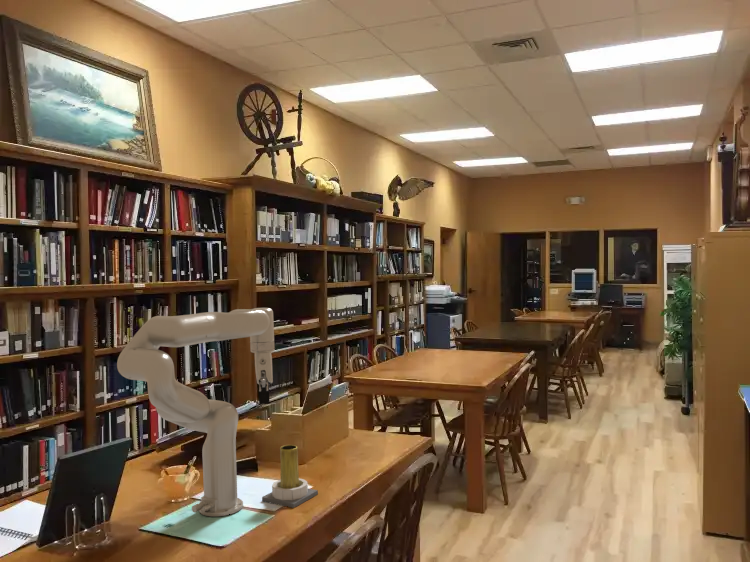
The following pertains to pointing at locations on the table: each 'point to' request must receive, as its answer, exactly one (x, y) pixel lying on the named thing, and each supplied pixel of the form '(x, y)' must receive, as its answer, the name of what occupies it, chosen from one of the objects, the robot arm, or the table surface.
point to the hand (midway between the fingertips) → (264, 400)
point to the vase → (289, 467)
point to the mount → (290, 494)
